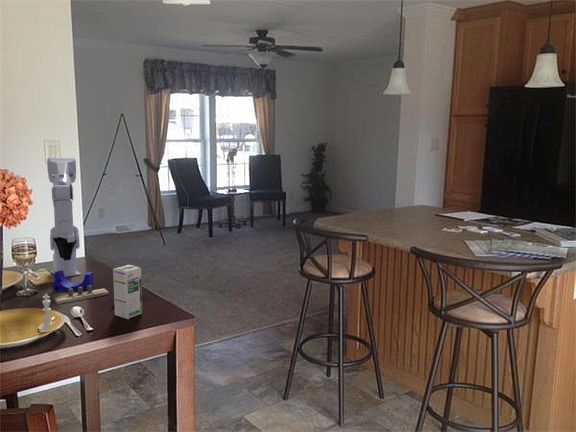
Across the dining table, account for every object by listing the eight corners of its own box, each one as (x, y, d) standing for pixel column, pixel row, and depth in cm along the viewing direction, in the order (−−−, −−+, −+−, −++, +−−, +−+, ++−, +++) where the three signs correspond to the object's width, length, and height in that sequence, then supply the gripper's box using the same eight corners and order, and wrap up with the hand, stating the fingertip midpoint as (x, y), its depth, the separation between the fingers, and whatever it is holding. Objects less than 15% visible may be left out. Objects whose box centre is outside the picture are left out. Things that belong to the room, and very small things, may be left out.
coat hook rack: (53, 300, 163) (53, 291, 163) (104, 291, 173) (103, 282, 173) (57, 303, 160) (57, 294, 160) (108, 294, 170) (108, 285, 170)
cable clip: (53, 291, 173) (52, 273, 172) (59, 287, 177) (59, 270, 176) (87, 293, 172) (86, 275, 171) (93, 289, 176) (93, 272, 175)
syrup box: (127, 319, 149) (126, 271, 147) (114, 315, 152) (112, 267, 150) (142, 313, 154) (141, 267, 152) (129, 309, 157) (128, 263, 155)
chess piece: (41, 325, 143) (40, 291, 141) (60, 325, 144) (58, 291, 142) (34, 332, 138) (32, 297, 137) (53, 332, 139) (52, 297, 137)
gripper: (45, 217, 178) (47, 256, 180) (57, 224, 167) (59, 265, 169) (66, 215, 182) (68, 253, 184) (80, 222, 171) (81, 262, 173)
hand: (65, 258), depth 177 cm, fingers open, 3 cm apart
